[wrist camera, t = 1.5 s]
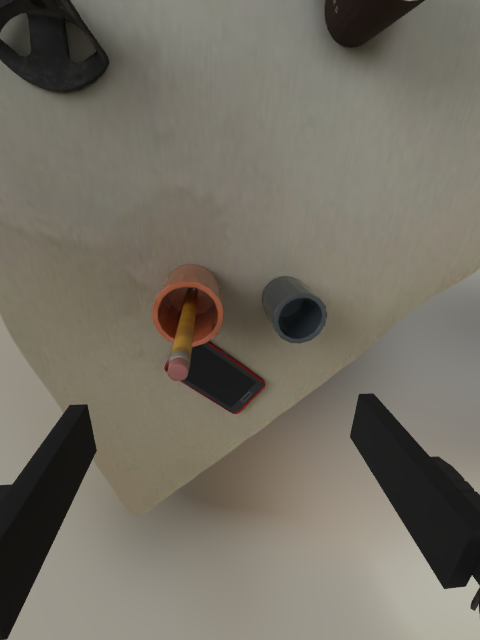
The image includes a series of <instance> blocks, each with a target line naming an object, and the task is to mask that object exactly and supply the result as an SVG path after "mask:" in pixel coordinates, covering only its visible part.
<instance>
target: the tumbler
mask: <svg viewBox="0 0 480 640" xmlns="http://www.w3.org/2000/svg"><path fill="white" fill-rule="evenodd" d="M262 303H263V307H264V310H265V312H266V314H267V316H268V318H269V320H270V321H271V323H272V325H273V327H274V329H275V331H276V333H277V334H278V335H279V336H280V337H281V338H282V339H283V340H285V341H288V342H290V343H303V342H306V341H310V340H312V339H313V338H314V337H316V336H317V335H318V334H319V333H320V332H321V330H322V329H323V327H324V326H325V322H326V318H327V312H326V307H325V305H324V303H323V302H322V301H321V299H320V298H319V297H318V296H316V295H315V294H314V293H313V292H312V291H311V290H309V289H308V288H307V287H306V286H305V285H304V284H303V283H301V282H300V281H298V280H297V279H295V278H293V277H288V276H284V277H279V278H276V279H274V280H273V281H271V282H270V283H269V284H268V285H267V286H266V288H265V290H264V292H263V296H262Z"/></svg>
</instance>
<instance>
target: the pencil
mask: <svg viewBox="0 0 480 640" xmlns="http://www.w3.org/2000/svg"><path fill="white" fill-rule="evenodd" d="M197 301H198V290H197V289H196V288H193V287H191V288H189V289H188V290H187V292H186V296H185V300H184V304H183V308H182V312H181V316H180V320H179V324H178V328H177V332H176V336H175V340H174V344H173V348H172V352H171V355H170V359H169V364H168V365H169V367H168V371H167V373H168V376H169V377H170V378H171V379H172V380H174V381H182V380H184V379H185V378H186V377H187V375H188V370H189V367H190V360H191V352H192V343H193V335H194V326H195V318H196V309H197Z"/></svg>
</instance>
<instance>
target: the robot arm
mask: <svg viewBox="0 0 480 640" xmlns="http://www.w3.org/2000/svg"><path fill="white" fill-rule="evenodd" d="M350 438H351V439H352V441H353V442H354V444H355V446H356V447H357V449H358V450H359V452H360V454H361V455H362V457H363V458H364V460H365V462H366V463H367V465H368V467H369V468H370V470H371V472H372V473H373V475H374V476H375V478H376V479H377V481H378V483H379V484H380V486H381V488H382V489H383V491H384V493H385V494H386V496H387V497H388V499H389V501H390V502H391V504H392V505H393V507H394V509H395V510H396V512H397V513H398V515H399V517H400V518H401V520H402V522H403V523H404V525H405V526H406V528H407V530H408V531H409V533H410V535H411V536H412V538H413V539H414V541H415V543H416V544H417V546H418V547H419V549H420V550H421V552H422V554H423V556H424V557H425V559H426V560H427V562H428V563H429V565H430V567H431V568H432V570H433V572H434V573H435V575H436V576H437V578H438V580H439V581H440V583H441V585H442V586H443V588H444V589H448V588H456V587H465V586H466V585H467V583H468V581H469V579H470V577H471V576H472V575H473V577H474V578H475V580H476V581H477V582H478V584H479V585H480V495H479V494H478V493H477V492H475V491H474V489H473V488H472V487H471V485H470V484H469V483H468V482H467V481H464V478H463V477H462V476H461V475H460V474H459V473H458V472H457V471H456V470H455V469H454V468H453V467H452V466H451V465H450V464H448V463H447V462H445V461H444V460H442V459H441V458H440V457H430V456H429V455H428V454H427V453H426V452H425V451H424V450H423V449H422V447H421V446H420V445H419V444H418V443H417V442H416V441H415V440H414V438H413V437H412V436H411V435H410V434H409V433H408V432H407V431H406V430H405V428H404V427H403V426H402V425H401V424H400V423H399V422H398V421H397V420H396V419H395V417H394V416H393V415H392V414H391V413H390V412H389V410H388V409H386V407H385V406H384V405H383V404H382V403H381V402H380V400H379V399H378V398H377V397H376V396H375V395H374V394H359V397H358V401H357V406H356V411H355V416H354V420H353V425H352V430H351V435H350ZM96 451H97V450H96V445H95V440H94V435H93V430H92V425H91V420H90V415H89V410H88V405H70V406H69V407H68V408H67V410H66V411H65V412H64V414H63V415H62V417H61V418H60V420H59V421H58V422H57V423H56V425H55V426H54V428H53V429H52V430H51V432H50V433H49V435H48V436H47V437H46V439H45V440H44V441H43V443H42V444H41V446H40V447H39V448H38V450H37V451H36V453H35V454H34V455H33V457H32V458H31V459H30V461H29V462H28V464H27V465H26V466H25V468H24V469H23V471H22V472H21V473H20V475H19V476H18V477H17V479H16V480H15V482H14V483H13V484H12V485H0V640H5V639H7V638H8V636H9V634H10V632H11V630H12V628H13V626H14V624H15V622H16V619H17V617H18V615H19V613H20V611H21V609H22V607H23V605H24V603H25V601H26V598H27V596H28V594H29V592H30V589H31V588H32V586H33V583H34V582H35V579H36V577H37V575H38V573H39V571H40V569H41V566H42V565H43V562H44V560H45V558H46V556H47V554H48V552H49V550H50V548H51V546H52V544H53V541H54V539H55V537H56V535H57V533H58V530H59V529H60V527H61V525H62V522H63V520H64V518H65V516H66V514H67V512H68V510H69V508H70V506H71V503H72V501H73V499H74V497H75V495H76V493H77V491H78V489H79V486H80V484H81V482H82V480H83V478H84V476H85V474H86V472H87V470H88V468H89V466H90V463H91V461H92V459H93V457H94V455H95V453H96ZM478 604H479V612H480V588H479V590H478V591H477V593H476V595H475V597H474V598H473V600H472V603H471V609H472V610H474V611H475V610H476V608H477V606H478Z"/></svg>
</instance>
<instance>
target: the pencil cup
mask: <svg viewBox="0 0 480 640" xmlns="http://www.w3.org/2000/svg"><path fill="white" fill-rule="evenodd" d="M191 287H193V288H196V289H197V290H198V301H197V309H196V318H195V326H194V335H193V343H192V347H195V346H198V345H201V344H204V343H207V342H208V341H209V340H211V339H212V338H213V337H214V336H216V335H217V333H218V331H219V329H220V328H221V326H222V323H223V313H224V311H223V303H222V296H221V289H220V286H219V282H218V280H217V278H216V277H215V275H214V274H213V273H212V272H211V271H210V270H208V269H207V268H205V267H203V266H200V265H195V264H188V265H183V266H180V267H178V268H176V269H175V270H174V271H173V272H172V273H171V274H170V275H169V276H168V277H167V279H166V281H165V283H164V284H163V286H162V288H161V290H160V292H159V293H158V295H157V297H156V300H155V302H154V304H153V307H152V319H153V322H154V324H155V326H156V329H157V331H158V332H159V333H160V334H161V335H162V336H163V337H164V338H165V339H166V340H167V341H169V342H171V343H174V340H175V336H176V332H177V328H178V324H179V320H180V316H181V312H182V308H183V304H184V300H185V296H186V292H187V290H188V289H189V288H191Z"/></svg>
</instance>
